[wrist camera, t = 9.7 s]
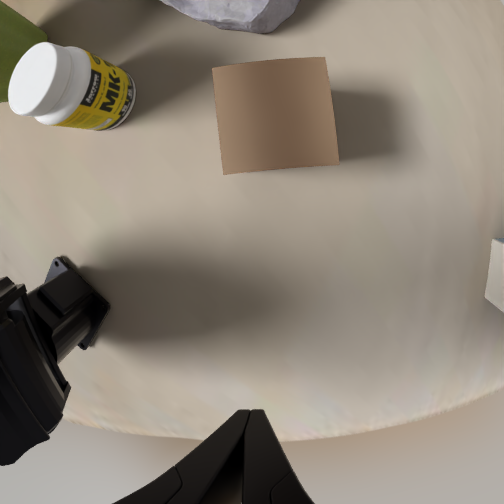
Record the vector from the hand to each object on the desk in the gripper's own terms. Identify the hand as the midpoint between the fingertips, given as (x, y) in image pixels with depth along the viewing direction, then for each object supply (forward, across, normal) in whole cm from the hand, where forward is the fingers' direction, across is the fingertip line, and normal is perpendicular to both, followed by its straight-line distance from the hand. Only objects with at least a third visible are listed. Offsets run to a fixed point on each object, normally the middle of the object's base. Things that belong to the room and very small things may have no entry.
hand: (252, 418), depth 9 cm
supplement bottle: (+12, -10, +14) cm, 21 cm away
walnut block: (+12, +2, +10) cm, 16 cm away
